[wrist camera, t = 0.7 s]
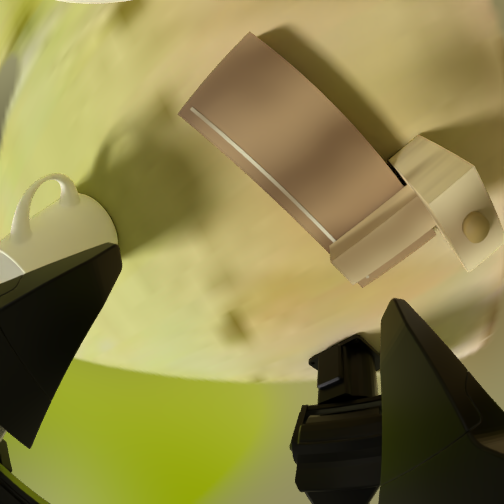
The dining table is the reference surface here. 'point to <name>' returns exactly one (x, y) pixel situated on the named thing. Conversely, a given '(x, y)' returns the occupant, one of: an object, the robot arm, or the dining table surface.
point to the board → (293, 144)
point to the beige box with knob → (424, 213)
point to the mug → (53, 229)
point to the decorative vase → (92, 1)
